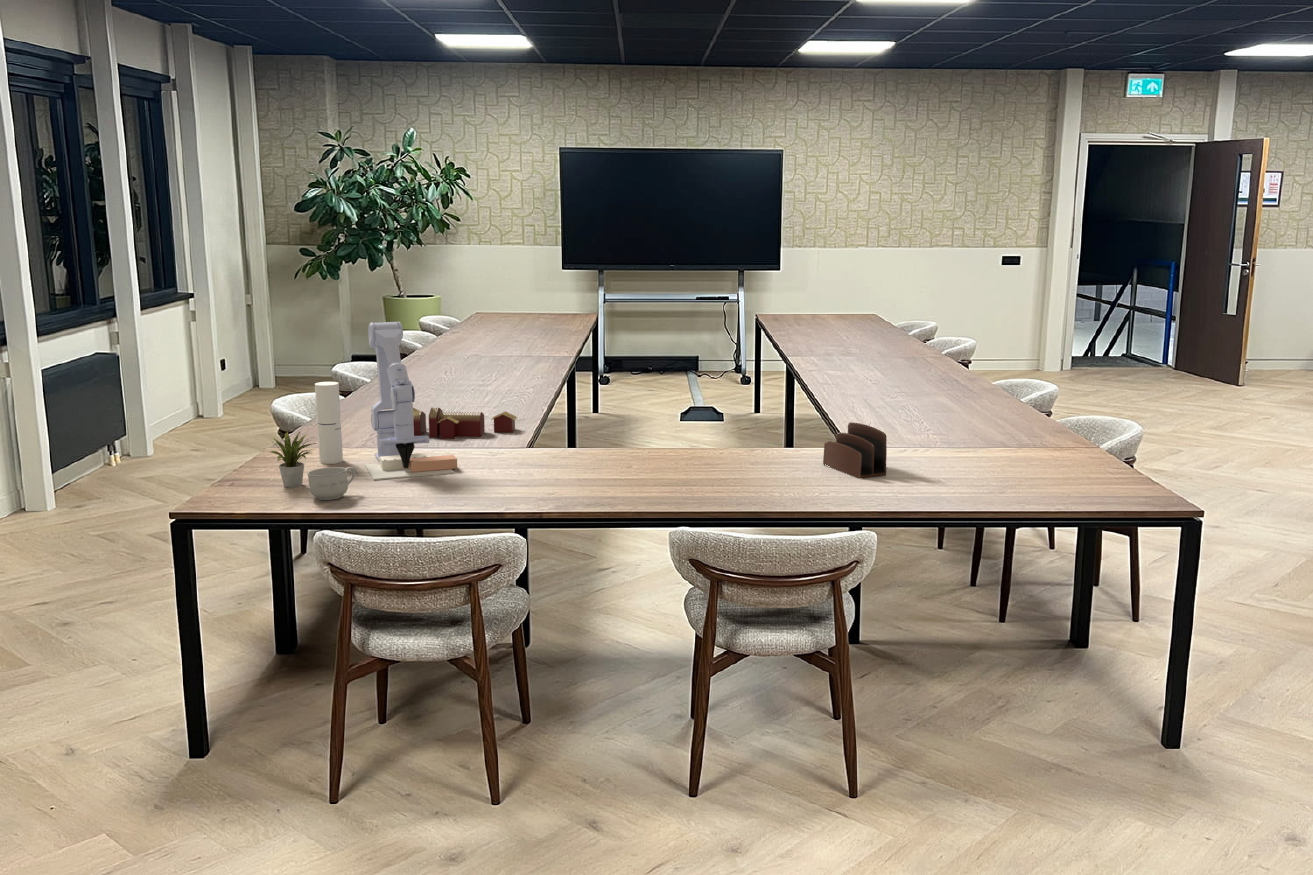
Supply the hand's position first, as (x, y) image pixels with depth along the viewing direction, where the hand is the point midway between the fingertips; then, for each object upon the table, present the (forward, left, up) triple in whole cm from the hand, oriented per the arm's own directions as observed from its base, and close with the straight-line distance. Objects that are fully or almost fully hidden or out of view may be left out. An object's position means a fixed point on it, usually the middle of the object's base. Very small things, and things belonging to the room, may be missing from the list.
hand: (405, 467), depth 345 cm
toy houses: (-52, +25, -2) cm, 58 cm away
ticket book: (-6, +1, -2) cm, 7 cm away
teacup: (+21, -23, -2) cm, 31 cm away
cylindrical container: (-23, -19, -2) cm, 30 cm away
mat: (-3, +2, -2) cm, 4 cm away
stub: (0, +8, -2) cm, 8 cm away
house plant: (+5, -33, -2) cm, 34 cm away
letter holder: (+46, +130, -2) cm, 138 cm away
